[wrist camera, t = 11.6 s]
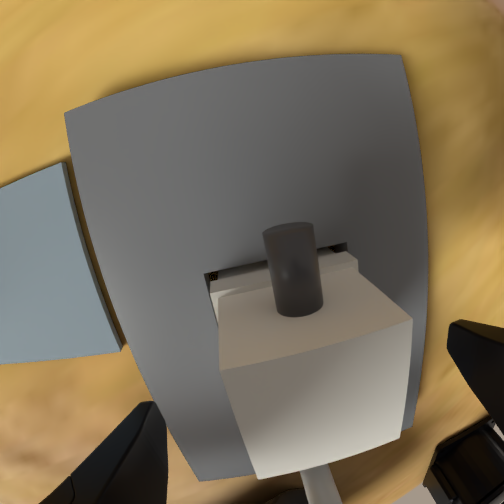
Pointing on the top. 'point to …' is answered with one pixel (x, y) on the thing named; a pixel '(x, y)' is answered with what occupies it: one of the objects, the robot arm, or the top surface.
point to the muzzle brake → (290, 497)
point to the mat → (48, 275)
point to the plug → (309, 354)
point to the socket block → (246, 214)
